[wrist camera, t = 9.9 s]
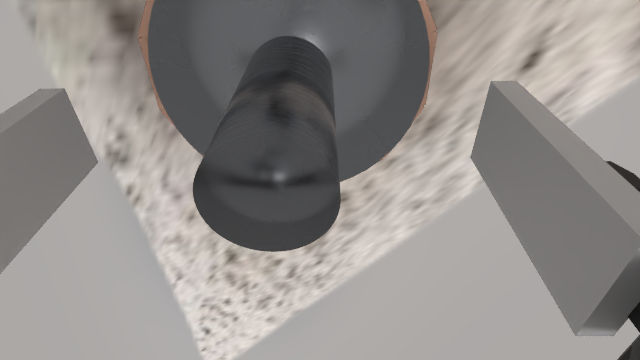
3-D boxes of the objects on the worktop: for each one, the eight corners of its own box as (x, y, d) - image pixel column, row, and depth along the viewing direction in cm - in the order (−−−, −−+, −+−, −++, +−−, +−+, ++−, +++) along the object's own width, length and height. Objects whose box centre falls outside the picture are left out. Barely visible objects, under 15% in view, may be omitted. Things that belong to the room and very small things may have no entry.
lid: (115, -89, 13) (-145, -88, 6) (449, -93, 13) (613, -98, 6) (188, 180, 20) (113, 333, 13) (406, 179, 20) (455, 332, 12)
